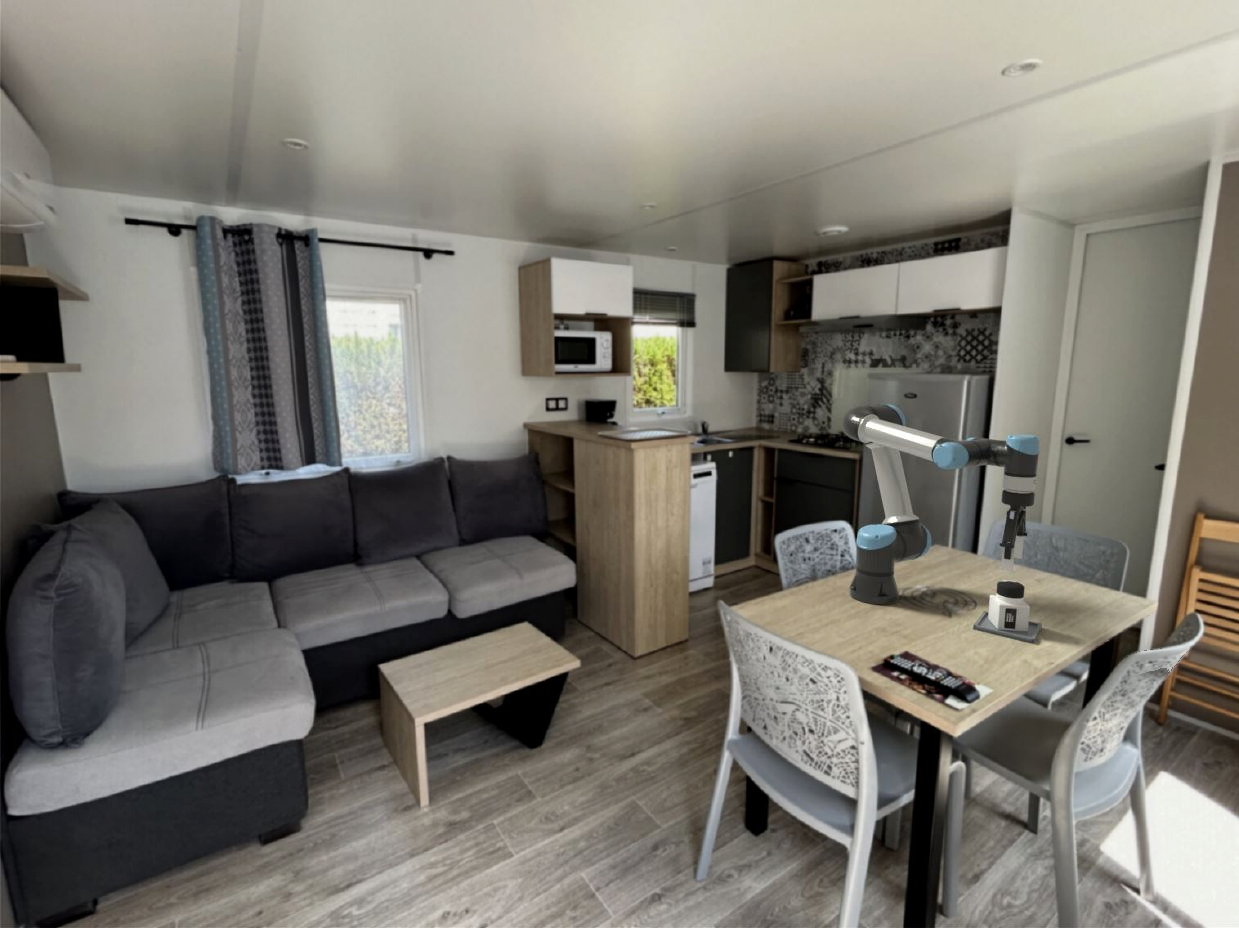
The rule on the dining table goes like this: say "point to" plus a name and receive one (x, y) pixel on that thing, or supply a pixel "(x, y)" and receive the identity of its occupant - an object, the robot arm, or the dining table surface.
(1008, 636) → the tray
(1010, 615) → the container
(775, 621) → the dining table surface
